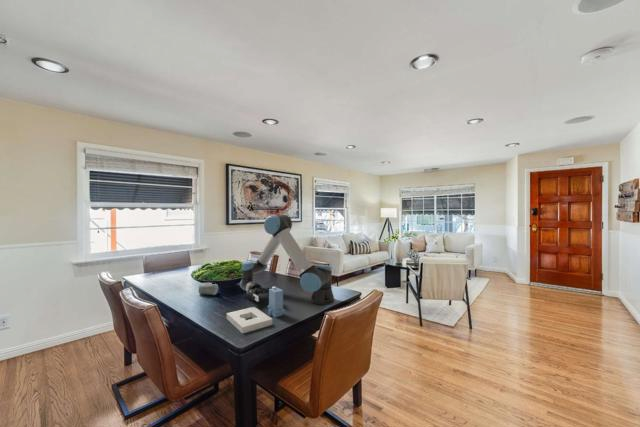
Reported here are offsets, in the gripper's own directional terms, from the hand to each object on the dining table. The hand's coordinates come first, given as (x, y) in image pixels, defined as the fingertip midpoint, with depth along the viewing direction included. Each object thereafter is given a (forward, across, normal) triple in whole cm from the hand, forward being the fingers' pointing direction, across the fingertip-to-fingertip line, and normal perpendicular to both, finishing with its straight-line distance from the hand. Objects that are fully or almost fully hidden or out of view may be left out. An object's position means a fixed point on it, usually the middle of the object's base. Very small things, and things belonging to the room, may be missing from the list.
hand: (269, 296), depth 158 cm
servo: (+8, 0, -8) cm, 11 cm away
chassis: (+8, +16, -8) cm, 19 cm away
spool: (-52, +20, -8) cm, 57 cm away
